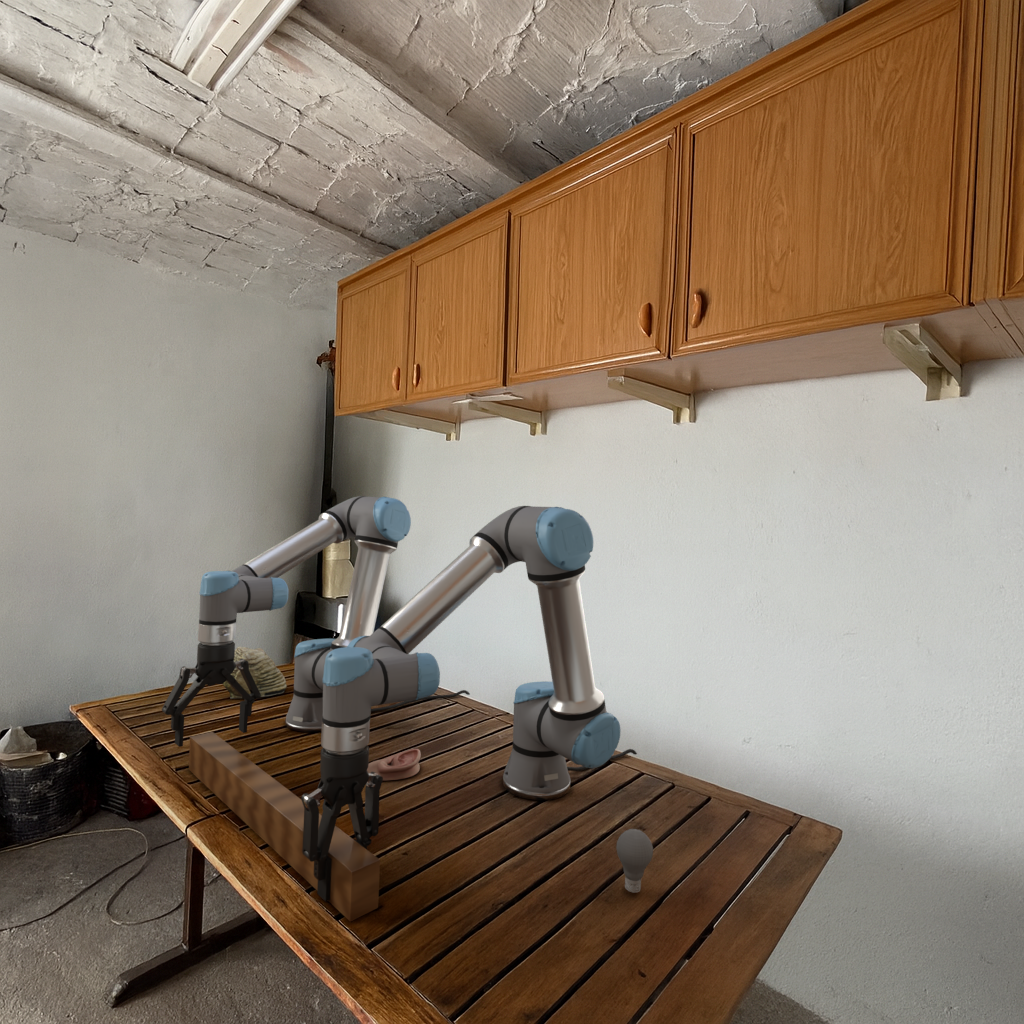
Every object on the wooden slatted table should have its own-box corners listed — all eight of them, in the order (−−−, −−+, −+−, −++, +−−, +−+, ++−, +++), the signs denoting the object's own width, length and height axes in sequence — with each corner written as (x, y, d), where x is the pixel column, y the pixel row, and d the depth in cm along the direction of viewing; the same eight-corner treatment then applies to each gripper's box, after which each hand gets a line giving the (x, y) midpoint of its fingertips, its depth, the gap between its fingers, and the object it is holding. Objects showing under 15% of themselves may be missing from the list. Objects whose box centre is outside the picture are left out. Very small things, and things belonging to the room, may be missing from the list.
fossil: (218, 695, 195) (220, 647, 195) (278, 685, 208) (279, 640, 207) (228, 703, 189) (230, 653, 188) (289, 692, 201) (290, 645, 201)
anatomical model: (353, 759, 143) (374, 741, 154) (352, 777, 143) (373, 757, 154) (408, 767, 140) (426, 748, 152) (408, 785, 140) (425, 764, 152)
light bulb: (610, 879, 108) (613, 822, 108) (644, 879, 109) (647, 822, 109) (619, 902, 102) (622, 840, 102) (655, 901, 103) (658, 840, 103)
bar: (188, 769, 144) (189, 736, 144) (211, 764, 147) (212, 731, 147) (350, 921, 95) (352, 872, 95) (378, 907, 99) (380, 859, 99)
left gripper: (160, 652, 128) (154, 756, 128) (278, 638, 146) (274, 730, 146) (148, 645, 133) (143, 745, 134) (264, 632, 151) (260, 721, 151)
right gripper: (303, 769, 93) (298, 926, 93) (405, 739, 105) (399, 877, 106) (280, 753, 98) (275, 901, 98) (379, 727, 111) (374, 858, 111)
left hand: (211, 737), depth 140 cm, fingers open, 13 cm apart
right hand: (339, 889), depth 102 cm, fingers closed on bar, 5 cm apart
